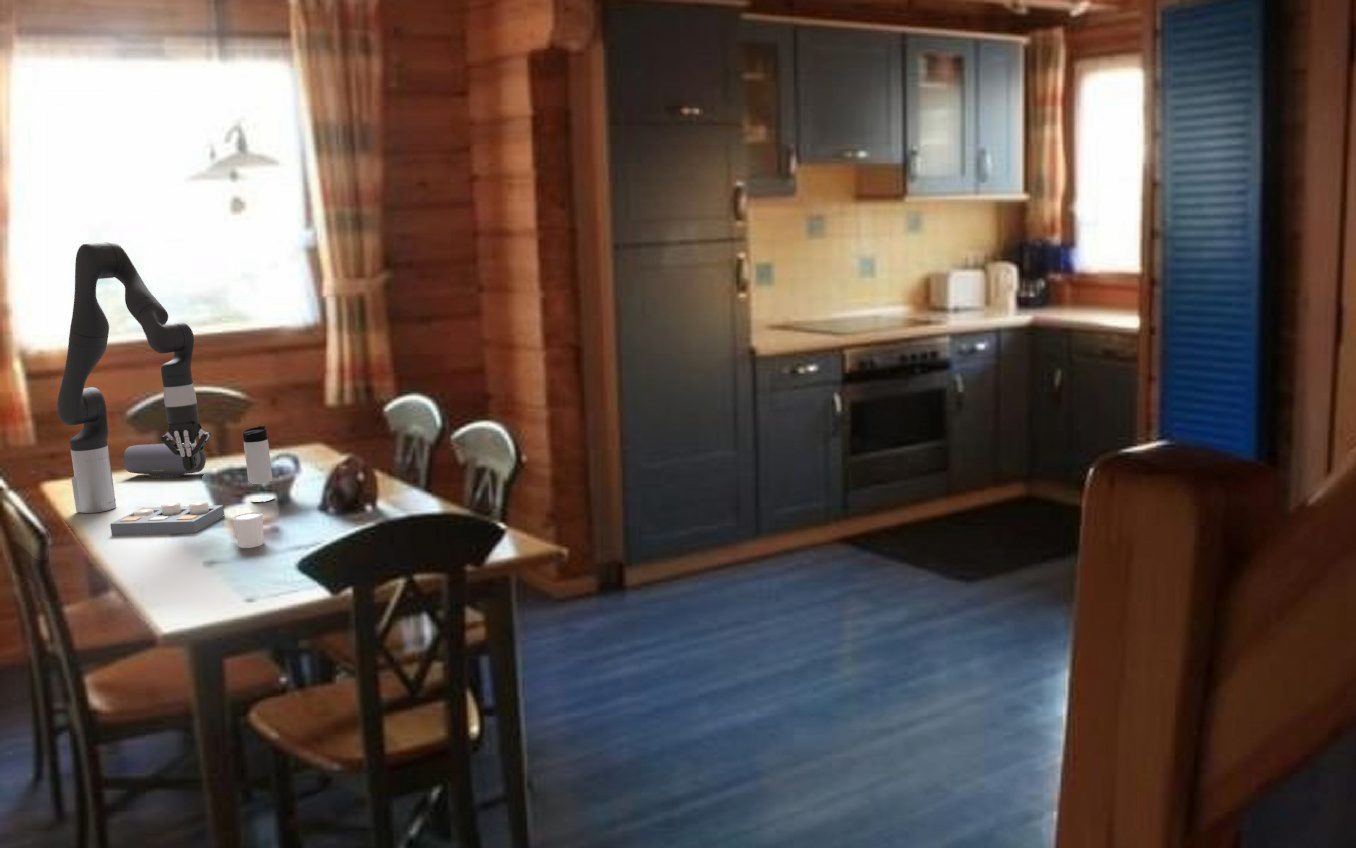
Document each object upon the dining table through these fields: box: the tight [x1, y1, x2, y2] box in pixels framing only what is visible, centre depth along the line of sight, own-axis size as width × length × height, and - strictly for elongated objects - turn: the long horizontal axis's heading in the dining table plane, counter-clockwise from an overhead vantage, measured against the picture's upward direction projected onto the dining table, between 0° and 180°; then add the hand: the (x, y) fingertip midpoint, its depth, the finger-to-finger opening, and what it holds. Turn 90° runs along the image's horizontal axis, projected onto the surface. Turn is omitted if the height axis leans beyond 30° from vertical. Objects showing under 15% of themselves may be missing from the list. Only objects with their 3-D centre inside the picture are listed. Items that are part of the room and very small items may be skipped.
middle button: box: [160, 502, 182, 515], centre depth 332 cm, size 5×5×3 cm
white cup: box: [232, 512, 264, 549], centre depth 307 cm, size 7×7×7 cm
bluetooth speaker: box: [122, 443, 207, 478], centre depth 393 cm, size 23×9×10 cm, turn 77°
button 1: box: [133, 509, 154, 516], centre depth 333 cm, size 5×5×3 cm
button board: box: [109, 504, 225, 536], centre depth 330 cm, size 22×16×3 cm
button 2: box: [188, 501, 209, 514], centre depth 331 cm, size 5×5×3 cm
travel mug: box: [242, 425, 273, 484], centre depth 352 cm, size 6×7×20 cm
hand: (190, 470), depth 329 cm, fingers closed
